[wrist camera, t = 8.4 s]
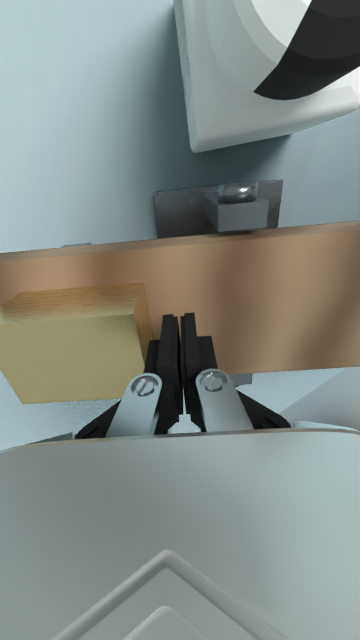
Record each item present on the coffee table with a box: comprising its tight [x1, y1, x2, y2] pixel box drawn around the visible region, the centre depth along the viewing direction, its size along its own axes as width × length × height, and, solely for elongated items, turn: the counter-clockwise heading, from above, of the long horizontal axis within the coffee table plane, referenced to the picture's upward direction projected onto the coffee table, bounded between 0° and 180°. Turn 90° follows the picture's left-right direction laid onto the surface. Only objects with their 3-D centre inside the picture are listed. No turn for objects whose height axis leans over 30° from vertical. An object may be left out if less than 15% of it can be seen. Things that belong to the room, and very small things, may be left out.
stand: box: [61, 180, 283, 387], centre depth 19 cm, size 19×14×10 cm
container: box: [174, 0, 360, 153], centre depth 10 cm, size 8×8×13 cm
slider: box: [0, 282, 154, 404], centre depth 13 cm, size 7×5×4 cm
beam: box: [0, 221, 360, 375], centre depth 15 cm, size 28×9×2 cm, turn 95°
